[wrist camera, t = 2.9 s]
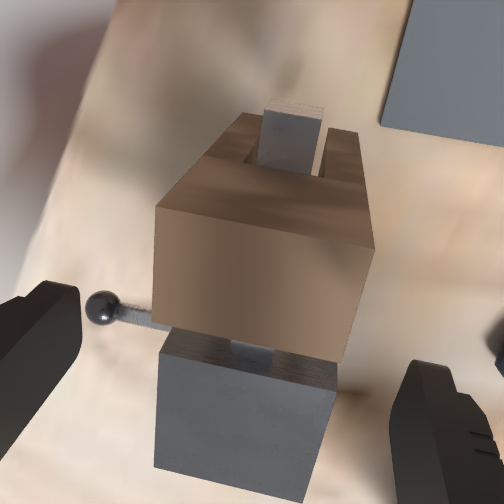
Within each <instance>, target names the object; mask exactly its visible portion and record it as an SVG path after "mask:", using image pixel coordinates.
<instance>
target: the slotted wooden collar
mask: <svg viewBox="0 0 504 504" xmlns="http://www.w3.org/2000/svg"><path fill="white" fill-rule="evenodd" d="M262 121H263V116H260V115H254V114H248V113H242V114H241V115H240V116H239V117H238V118H237V119H236V120H235V122H234V123H233V124H232V125H231V126H230V127H229V128H228V129H227V130H226V131H225V132H224V133H223V134H222V135H221V137H220V138H219V139H218V140H217V141H216V142H215V143H214V144H213V145H212V146H211V147H210V148H209V149H208V151H207V152H206V153H205V154H204V155H203V156H202V157H201V158H200V159H199V160H198V161H197V162H196V163H195V164H194V166H193V167H192V168H191V169H190V170H189V171H188V172H187V173H186V174H185V175H184V176H183V177H182V178H181V180H180V181H179V182H178V183H177V184H176V185H175V186H174V187H173V188H172V189H171V190H170V191H169V192H168V193H167V195H166V196H165V197H164V198H163V199H162V200H161V201H160V202H159V203H158V204H157V205H156V207H155V236H154V265H153V294H152V322H153V323H158V324H162V325H167V326H171V327H176V328H180V329H185V330H190V331H194V332H199V333H203V334H208V335H213V336H217V337H222V338H226V339H231V340H235V341H240V342H245V343H249V344H254V345H258V346H263V347H268V348H272V349H277V350H281V351H286V352H291V353H295V354H300V355H304V356H309V357H313V358H318V359H323V360H327V361H332V362H336V363H341V360H342V357H343V353H344V350H345V347H346V344H347V340H348V337H349V334H350V330H351V327H352V324H353V321H354V317H355V314H356V311H357V307H358V304H359V301H360V297H361V294H362V291H363V288H364V284H365V281H366V278H367V274H368V271H369V268H370V265H371V261H372V258H373V255H374V251H375V246H374V239H373V232H372V225H371V219H370V212H369V205H368V198H367V191H366V185H365V178H364V171H363V164H362V158H361V151H360V144H359V137H358V133H356V132H351V131H345V130H339V129H334V128H328V133H327V138H326V142H325V147H324V151H323V156H322V161H321V165H320V170H319V175H318V177H317V176H312V175H306V174H301V173H296V172H290V171H285V170H279V169H274V168H269V167H263V166H258V165H256V163H257V156H258V149H259V142H260V135H261V128H262Z"/></svg>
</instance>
